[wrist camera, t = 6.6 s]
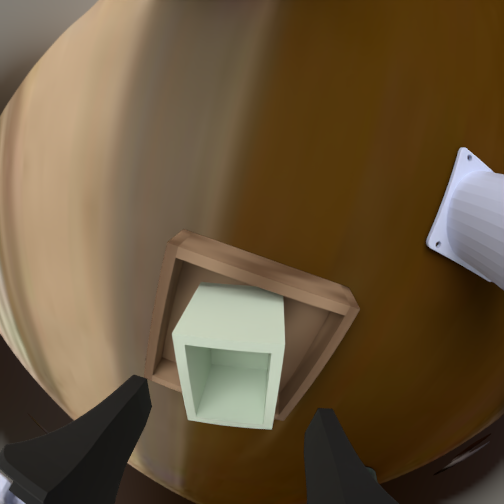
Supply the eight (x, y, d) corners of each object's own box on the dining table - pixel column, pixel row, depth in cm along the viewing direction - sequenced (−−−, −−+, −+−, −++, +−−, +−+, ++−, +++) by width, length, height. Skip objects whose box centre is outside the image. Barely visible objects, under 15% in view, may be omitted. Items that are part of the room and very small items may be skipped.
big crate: (348, 287, 18) (360, 309, 15) (283, 395, 22) (283, 420, 19) (183, 229, 18) (167, 242, 15) (156, 354, 22) (143, 377, 19)
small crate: (282, 287, 18) (285, 344, 12) (273, 369, 20) (271, 429, 15) (200, 282, 18) (171, 333, 13) (206, 363, 21) (188, 419, 15)
